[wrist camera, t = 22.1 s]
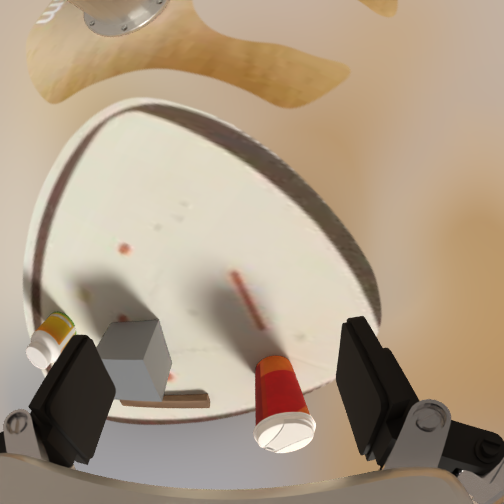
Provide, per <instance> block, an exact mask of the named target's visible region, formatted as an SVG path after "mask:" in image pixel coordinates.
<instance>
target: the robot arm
mask: <svg viewBox="0 0 504 504" xmlns="http://www.w3.org/2000/svg"><path fill="white" fill-rule="evenodd" d="M67 1H69V2H70V3H72V4H73V5H75V6H76V7H78V8H79V9H81V10H82V11H84V20H85V23H86V25H87V26H88V28H89V29H90V30H92V31H93V32H94V33H96V34H98V35H101V36H104V37H119V36H124V35H128V34H131V33H133V32H136V31H138V30H140V29H141V28H143V27H145V26H146V25H148V24H149V23H150V22H152V21H153V20H154V19H155V18H156V17H157V16H158V15H159V14H160V13H161V12H162V11H163V10H164V8H165V7H166V5H167V4H168V2H169V0H67ZM160 3H161V4H160ZM336 382H337V386H338V388H339V392H340V395H341V397H342V401H343V404H344V406H345V410H346V413H347V416H348V419H349V422H350V425H351V428H352V431H353V434H354V437H355V441H356V443H357V447H358V450H359V453H360V454H361V455H365V456H366V459H367V461H370V460H374V459H376V462H377V464H378V465H380V468H379V470H378V471H373V472H368V473H364V474H359V475H353V476H348V477H344V478H338V479H333V480H327V481H321V482H315V483H308V484H300V485H293V486H284V487H274V488H260V489H238V490H209V489H208V490H207V489H187V488H173V487H162V486H154V485H147V484H140V483H134V482H127V481H121V480H116V479H112V478H106V477H102V476H98V475H93V474H90V473H86V472H81V471H78V470H76V469H75V467H74V464H73V463H74V461H76V462H79V463H83V464H87V465H88V462H89V460H90V459H91V458H92V457H93V456H94V453H95V450H96V447H97V444H98V441H99V438H100V435H101V432H102V429H103V427H104V424H105V421H106V418H107V416H108V413H109V410H110V407H111V405H112V402H113V400H114V397H115V394H116V388H115V385H114V383H113V381H112V379H111V377H110V375H109V374H108V372H107V370H106V368H105V366H104V363H103V361H102V359H101V357H100V355H99V353H98V351H97V349H96V347H95V344H94V342H93V340H92V339H90V338H89V337H88V336H87V335H73V336H72V337H71V339H70V340H69V342H68V343H67V345H66V346H65V348H64V349H63V351H62V352H61V354H60V355H59V357H58V359H57V360H56V362H55V363H54V365H53V366H52V368H51V370H50V371H49V373H48V374H47V376H46V378H45V379H44V381H43V382H42V384H41V386H40V387H39V389H38V391H37V393H36V395H35V396H34V398H33V399H32V401H31V403H30V405H29V408H30V409H31V410H32V411H31V413H29V412H28V411H26V410H24V409H18V410H15V411H13V412H11V413H10V414H9V415H8V416H7V417H6V419H5V421H4V424H3V430H4V431H3V432H1V433H0V504H473V502H472V500H474V501H475V502H477V503H478V504H504V441H503V439H502V438H501V437H500V436H499V435H498V434H496V433H493V432H490V431H486V430H483V429H480V428H476V427H473V426H469V425H466V424H462V423H459V422H456V421H453V420H451V414H450V411H449V409H448V408H447V407H446V406H445V405H444V404H443V403H441V402H439V401H436V400H431V399H427V400H422V401H419V399H418V397H417V396H416V394H415V392H414V390H413V388H412V387H411V385H410V383H409V381H408V379H407V378H406V376H405V374H404V373H403V371H402V369H401V367H400V366H399V364H398V362H397V361H396V359H395V357H394V355H393V354H392V352H391V351H390V350H389V349H388V348H382V346H381V345H380V342H379V341H378V339H377V337H376V336H375V334H374V332H373V331H372V329H371V327H370V325H369V324H368V322H367V320H366V319H365V317H364V316H360V317H353V318H348V319H347V323H343V324H342V330H341V339H340V348H339V356H338V364H337V371H336ZM469 494H470V495H472V496H473V497H472V500H471V498H470V496H469Z"/></svg>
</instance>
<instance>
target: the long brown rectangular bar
mask: <svg viewBox="0 0 504 504" xmlns="http://www.w3.org/2000/svg"><path fill="white" fill-rule="evenodd" d="M120 402H121V404H122V405H123V406H135V407H153V408H210V399H209V396H208V394H193V395H163V399H162V402H154V401H132V400H120Z"/></svg>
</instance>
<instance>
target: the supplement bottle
mask: <svg viewBox="0 0 504 504" xmlns="http://www.w3.org/2000/svg"><path fill="white" fill-rule="evenodd" d="M73 335H76V328H75V325H74V323H73V322H72V320H71V319H70V318H69V317H68V316H67V315H65V314H64V313H61V312H54V313H52V314H51V315H50V316H49V317H48V318H47V319H46V320H45V321H44V322H43V323H42V325H41V326H40V327H39V328H38V329H37V330H36V331H35V332H34V333H33V335H32V337H31V343H30V344H29V346H28V347H27V349H26V355H27V357H28V359H29V360H30V362H31V363H32V364H33V365H35V366H36V367H37V368H40V369H46V368H47V367H48V365H49V364H50V363H53V362H56V360H57V359H58V357H59V355H60V354H61V352H62V351H63V349H64V348H65V346H66V345H67V343H68V342H69V340H70V339H71V337H72V336H73Z"/></svg>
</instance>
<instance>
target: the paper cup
mask: <svg viewBox="0 0 504 504" xmlns="http://www.w3.org/2000/svg"><path fill="white" fill-rule="evenodd" d="M255 406H256V427H255V429H254V431H253V435H254V438H255V440H256V441H257V442H258V444H259V445H260V447H261V448H263V447H264V448H265V449H266V450H269V451H274V452H275V453H287V452H291V451H295V450H298V449H300V448H302V447H304V446H306V445H307V444H308V443H309V442H310V441H311V440H312V438H313V436H314V431H315V428H316V423H315V421H314V419H313V418H312V416H311V415H310V414H309V411H308V408H307V405H306V403H305V400H304V397H303V394H302V391H301V389H300V386H299V383H298V380H297V378H296V375H295V372H294V370H293V367H292V365H291V363H290V361H289V360H288V359H286V358H285V357H282V356H269V357H266V358H264V359H262V360H261V361H260V362H259V363H258V364H257V366H256V372H255Z"/></svg>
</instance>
